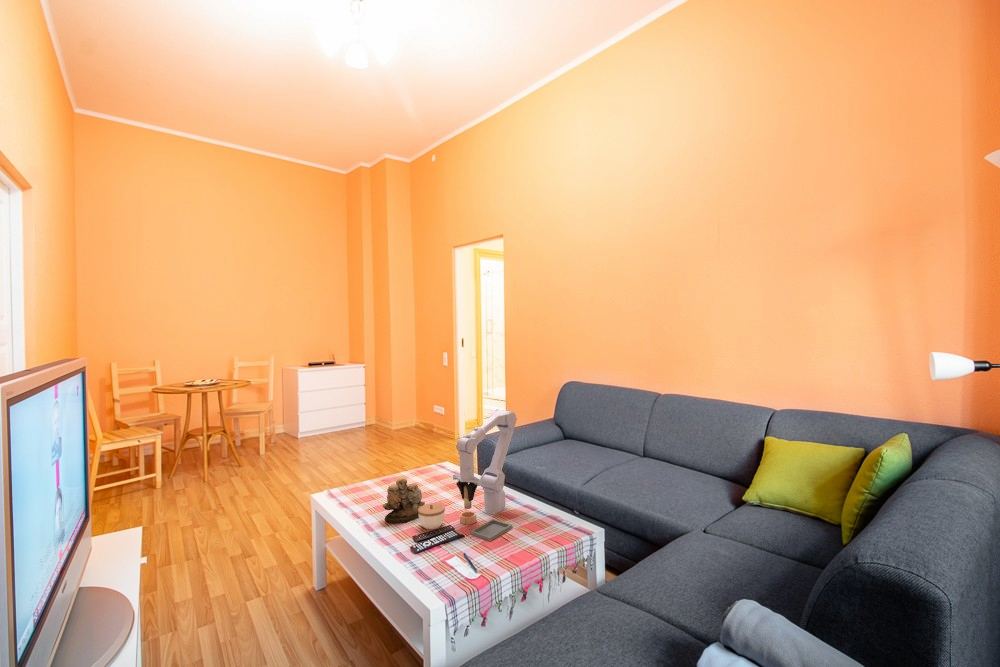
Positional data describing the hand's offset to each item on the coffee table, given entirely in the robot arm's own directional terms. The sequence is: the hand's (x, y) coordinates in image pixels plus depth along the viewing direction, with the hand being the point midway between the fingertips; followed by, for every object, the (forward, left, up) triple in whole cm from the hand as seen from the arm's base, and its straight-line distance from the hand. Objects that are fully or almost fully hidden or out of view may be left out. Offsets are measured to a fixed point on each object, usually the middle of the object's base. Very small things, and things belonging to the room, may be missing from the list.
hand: (467, 499), depth 193 cm
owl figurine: (+12, -26, -10) cm, 30 cm away
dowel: (0, 0, -3) cm, 3 cm away
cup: (0, 0, -9) cm, 9 cm away
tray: (+2, +14, -9) cm, 17 cm away
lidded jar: (+12, -9, -10) cm, 18 cm away
